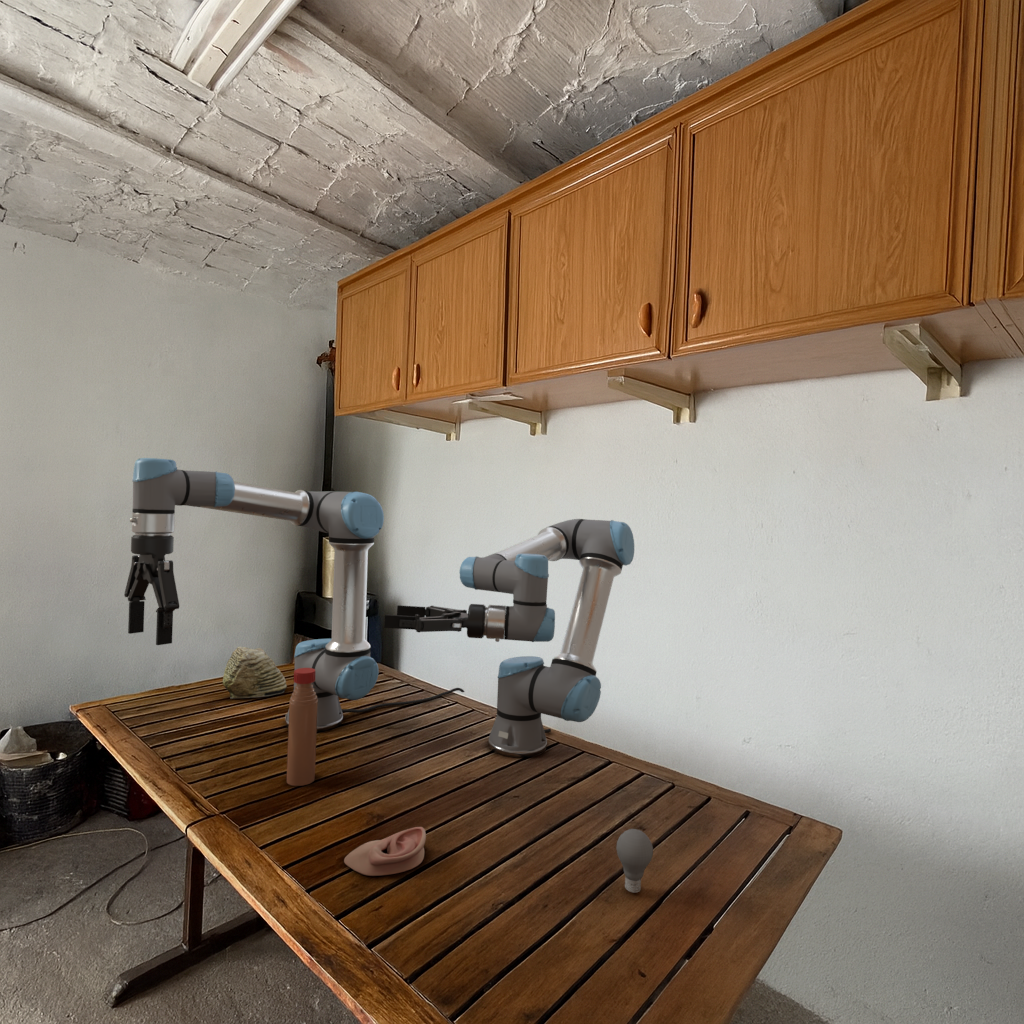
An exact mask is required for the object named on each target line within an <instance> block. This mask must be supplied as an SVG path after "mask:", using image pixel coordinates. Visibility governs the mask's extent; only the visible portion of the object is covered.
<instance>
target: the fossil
mask: <svg viewBox="0 0 1024 1024" xmlns="http://www.w3.org/2000/svg"><path fill="white" fill-rule="evenodd" d="M222 676H223V677H222V685H223V687H224V688H225V690H226V691H228V693H229V698H230V699H250V698H264V697H271V696H275V695H281V694H284V693H285V691H286V689H287V687H288V686H287V680H286V678H285V676H284V674H283V673H282V672H281V669H279V668H278V667H277V665H276V663H275V662H274V660H273V659H272V658H271V657H270V656H269V655H268V654H267V653H266V652H265V650H264V649H263V648H260V647H258V648H251V647H247V646H246V647H245V646H238V647H237V648H236V649H235V650H233V651H232V653H231V656H230V657H229V659H228V660H227V663H226V666H225V668H224V671H223V675H222Z"/></svg>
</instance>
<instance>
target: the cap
mask: <svg viewBox="0 0 1024 1024" xmlns="http://www.w3.org/2000/svg"><path fill="white" fill-rule="evenodd" d="M315 675H316V672H315V669H313V668H300V669H296V670H293V683H294V682H295V683H297V684H309V683H313V682H314V681H315Z"/></svg>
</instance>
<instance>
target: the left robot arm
mask: <svg viewBox="0 0 1024 1024" xmlns="http://www.w3.org/2000/svg"><path fill="white" fill-rule="evenodd" d="M132 473H133V474H132V511H131V512H132V515H131V517H130V518H129V522H130V523H131V532H132V533H134V534H132V536H131V537H130V538H131V539H130V552H131V553H132V556H131V566H130V570H129V573H128V578H127V581H126V587H125V590H124V593H123V596H124V598H127V601H128V621H127V622H128V626H127V627H128V628H127V633H128V634H129V635H131V634H132V635H133V634H139V633H144V629H145V601H146V600H147V599H146V596H145V594H146V592H147V590H148V588H149V586H150V585H151V586H152V589H153V593H154V596H155V599H156V603H157V606H158V607H157V609H156V610H155V613H156V630H155V631H156V633H155V645H156V646H163V645H170V644H173V627H174V625H173V623H174V612H175V610H179V609H180V602H179V595H178V591H177V585H176V578H175V574H174V573H175V572H174V561H173V560H171V559H170V560H166V557H165V556H166V555H170V554H173V552H174V543H175V542H174V541H175V537H174V535H172V534H173V533H174V532H175V522H176V521H175V518H176V510H175V509H176V506H179V507H180V506H181V507H182V506H187V507H194V508H195V507H196V508H203V509H209V510H214V511H215V510H216V511H223V512H229V513H235V514H243V515H249V516H255V517H262V518H269V519H274V520H275V519H276V520H283V521H289V522H290V524H291V525H293V526H296V527H304V528H307V529H311V530H315V531H318V532H321V533H325V534H328V545H330V546H331V547H332V548H333V550H334V553H333V554H334V560H333V584H332V585H333V587H332V614H331V615H332V616H331V619H332V620H331V638H318V639H308V640H304V641H300V642H299V643H297V645H296V646H295V650H294V655H293V657H294V670H296V669H300V668H313V669H315V672H316V675H315V681H314V682H313V683H312V685H313V688H314V689H315V692H316V695H317V699H318V709H317V733H318V732H325V731H329V730H332V729H335V728H337V727H339V726H340V725H342V723H343V722H344V714H343V713H354V714H360V713H367V712H369V711H373V710H375V709H379V708H383V707H384V708H385V707H394V706H405V705H413V704H419V703H425V702H428V701H432V700H436V699H438V698H441V697H443V696H446V695H449V694H452V693H453V692H456V691H457V692H461V693H465V690H464V689H463V688H460V687H454V688H452V689H450V690H447V691H443V692H441V693H438V694H435V695H432V696H430V697H429V696H428V697H426V698H425V697H424V698H419V699H414V700H408V701H407V700H405V701H397V702H396V701H395V702H394V701H393V702H385V703H379V704H375V705H372V706H369V707H366V708H362V709H361V708H360V709H353V708H342V706H341V702H340V699H339V698H341V699H342V700H343V699H344V700H348V701H349V700H350V701H357V700H360V699H362V698H364V697H365V696H367V695H368V694H370V692H371V690H372V689H374V687H375V685H376V683H377V681H378V678H379V674H380V673H379V671H380V670H379V669H380V668H379V665H378V663H377V662H376V660H375V659H374V658H373V657H371V648H372V647H371V644H370V642H368V640H366V621H367V619H366V618H367V590H368V589H367V588H368V557H369V550H370V548H371V547H372V546H374V544H375V536H377V535H378V534H379V533H380V530H382V529H383V526H384V522H385V515H384V510H383V507H382V505H381V503H380V502H379V501H378V500H377V498H376V497H375V496H373V495H371V494H370V493H366V492H361V491H337V490H336V491H335V490H330V491H329V490H328V491H311V490H304V489H298V490H296V491H294V492H293V491H288V490H284V489H278V488H272V487H266V486H261V485H257V484H250V483H245V482H239V481H234V478H233V477H232V476H231V474H229V473H227V472H218V470H217V471H207V470H206V471H205V470H183V469H178V467H177V462H176V460H174V459H167V458H157V457H156V458H154V457H140V458H137V459H136V460H135V462H134V467H133V472H132ZM294 670H293V671H294ZM296 685H297V683H295V682H294V681H293V690H294V689H295V686H296ZM284 718H285V726H286V728H288V727H289V709H288V711H287V712H286V714H285V717H284Z"/></svg>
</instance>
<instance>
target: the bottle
mask: <svg viewBox="0 0 1024 1024" xmlns="http://www.w3.org/2000/svg"><path fill="white" fill-rule="evenodd" d="M289 698H290V699H289V701H288V703H289V705H288V710H289V727H287V731H288V732H287V752H286V753H287V755H286V784H288V785H289V786H293V787H303V786H307V785H310V784H312V783H313V782H314V781H315V780H316V760H317V759H316V758H317V756H316V755H317V737H318V736H317V733H318V732H317V709H318V699H317V695H316V692H315V689H314V688H313V685H312V683H309V684H297V685H296V686H295V689H294V688H293V692H292V693H291V696H290V697H289Z"/></svg>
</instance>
